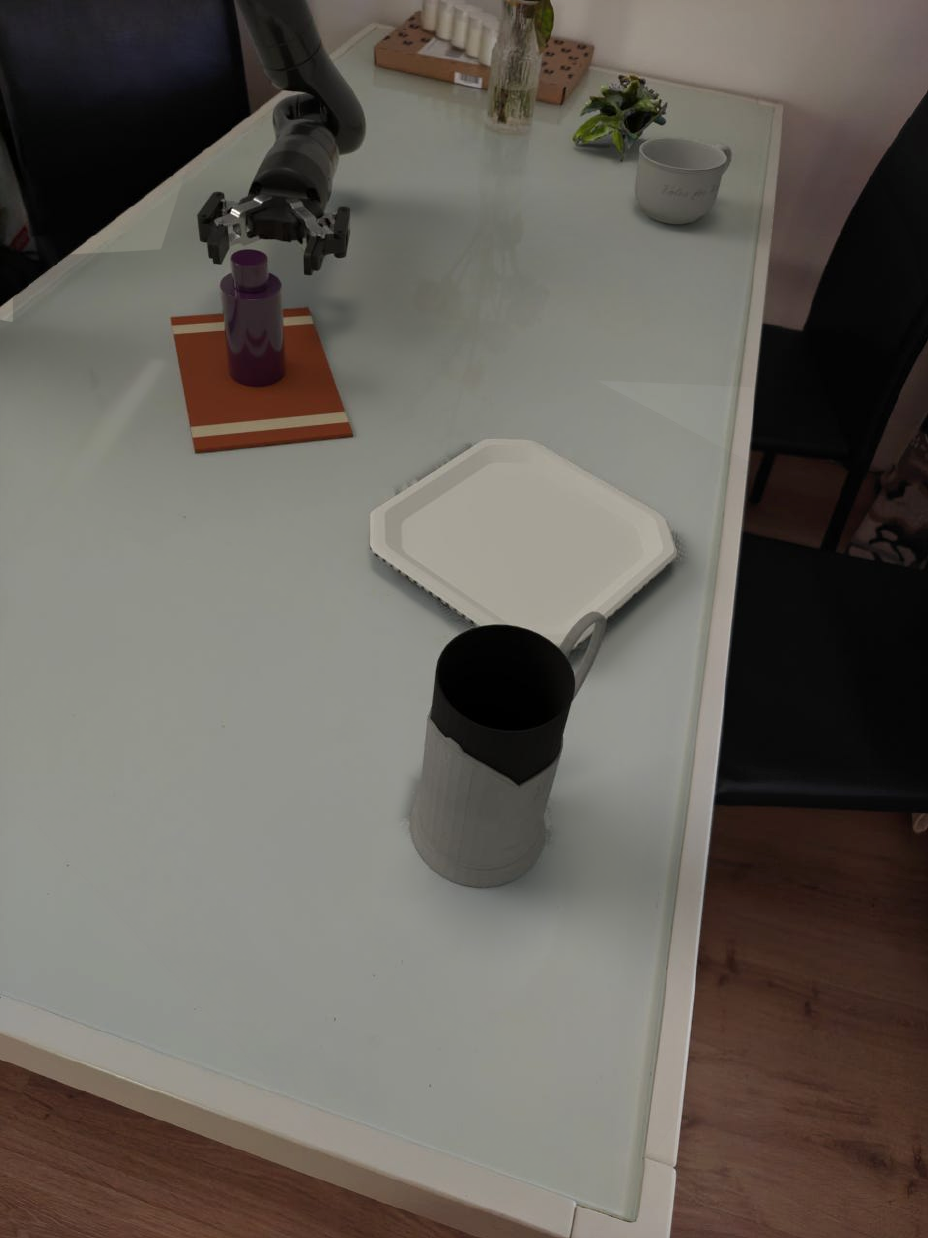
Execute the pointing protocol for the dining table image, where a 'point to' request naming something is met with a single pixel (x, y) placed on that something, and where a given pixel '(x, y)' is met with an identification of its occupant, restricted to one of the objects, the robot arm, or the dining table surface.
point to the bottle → (253, 320)
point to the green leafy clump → (621, 113)
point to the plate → (521, 539)
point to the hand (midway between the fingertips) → (261, 260)
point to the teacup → (679, 177)
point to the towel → (257, 388)
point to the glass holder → (495, 749)
